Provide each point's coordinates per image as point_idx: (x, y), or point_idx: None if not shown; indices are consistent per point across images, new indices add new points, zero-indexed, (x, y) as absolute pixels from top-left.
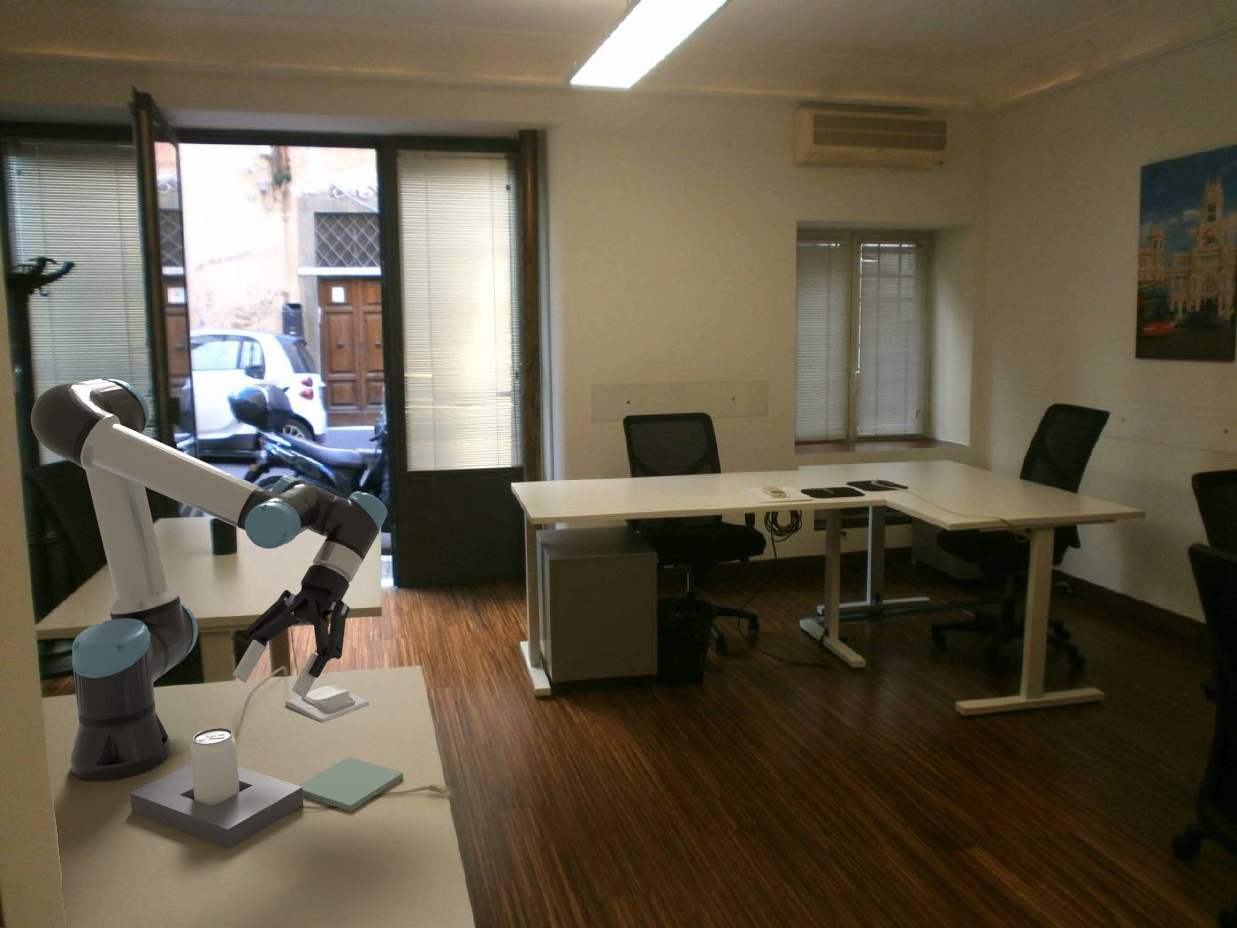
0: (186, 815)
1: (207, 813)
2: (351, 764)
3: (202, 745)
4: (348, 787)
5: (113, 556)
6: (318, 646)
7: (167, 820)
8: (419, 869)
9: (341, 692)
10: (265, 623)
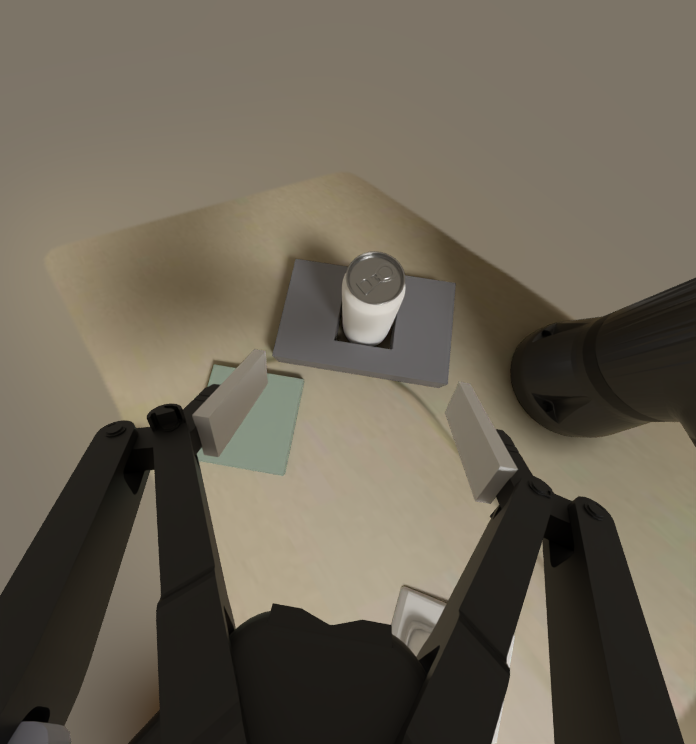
0: None
1: (338, 275)
2: (266, 456)
3: (369, 255)
4: None
5: None
6: (179, 441)
7: None
8: (99, 298)
9: None
10: (570, 585)
